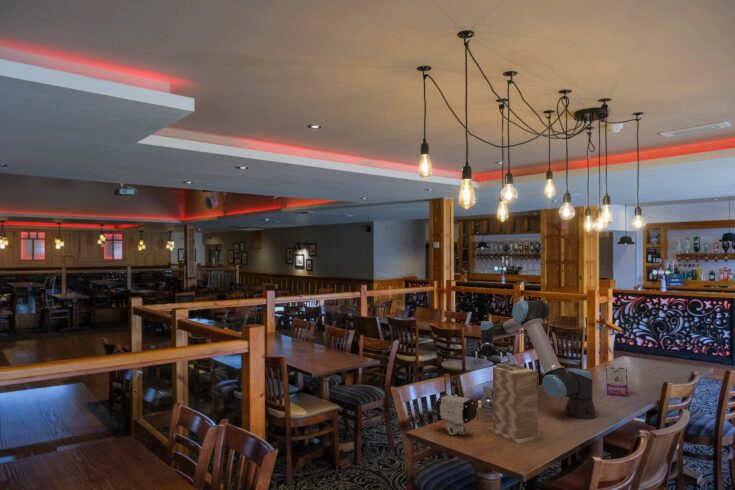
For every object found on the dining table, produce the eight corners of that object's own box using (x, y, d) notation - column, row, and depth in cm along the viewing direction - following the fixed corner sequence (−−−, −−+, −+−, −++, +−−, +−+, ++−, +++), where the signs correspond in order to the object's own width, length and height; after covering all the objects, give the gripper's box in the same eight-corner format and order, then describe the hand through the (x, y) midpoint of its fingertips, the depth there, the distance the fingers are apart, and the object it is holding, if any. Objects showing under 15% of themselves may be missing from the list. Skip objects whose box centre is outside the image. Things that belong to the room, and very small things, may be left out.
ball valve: (434, 431, 237) (433, 393, 237) (443, 426, 243) (443, 389, 244) (468, 440, 225) (467, 400, 226) (477, 435, 232) (476, 396, 232)
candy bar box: (626, 394, 297) (626, 366, 298) (627, 396, 293) (627, 368, 293) (606, 392, 302) (605, 365, 302) (606, 394, 297) (606, 367, 297)
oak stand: (488, 430, 237) (488, 363, 238) (512, 425, 244) (511, 360, 245) (518, 444, 221) (517, 371, 221) (542, 437, 228) (542, 368, 228)
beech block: (478, 412, 265) (478, 399, 266) (497, 413, 263) (497, 400, 264) (478, 420, 252) (478, 407, 252) (499, 421, 250) (499, 408, 250)
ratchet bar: (480, 393, 277) (480, 386, 277) (493, 394, 276) (493, 386, 276) (481, 408, 250) (481, 400, 251) (495, 409, 249) (495, 401, 249)
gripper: (509, 356, 298) (512, 363, 277) (466, 355, 303) (466, 362, 282) (509, 343, 298) (512, 349, 277) (466, 343, 303) (466, 349, 282)
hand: (489, 356), depth 280 cm, fingers open, 13 cm apart
